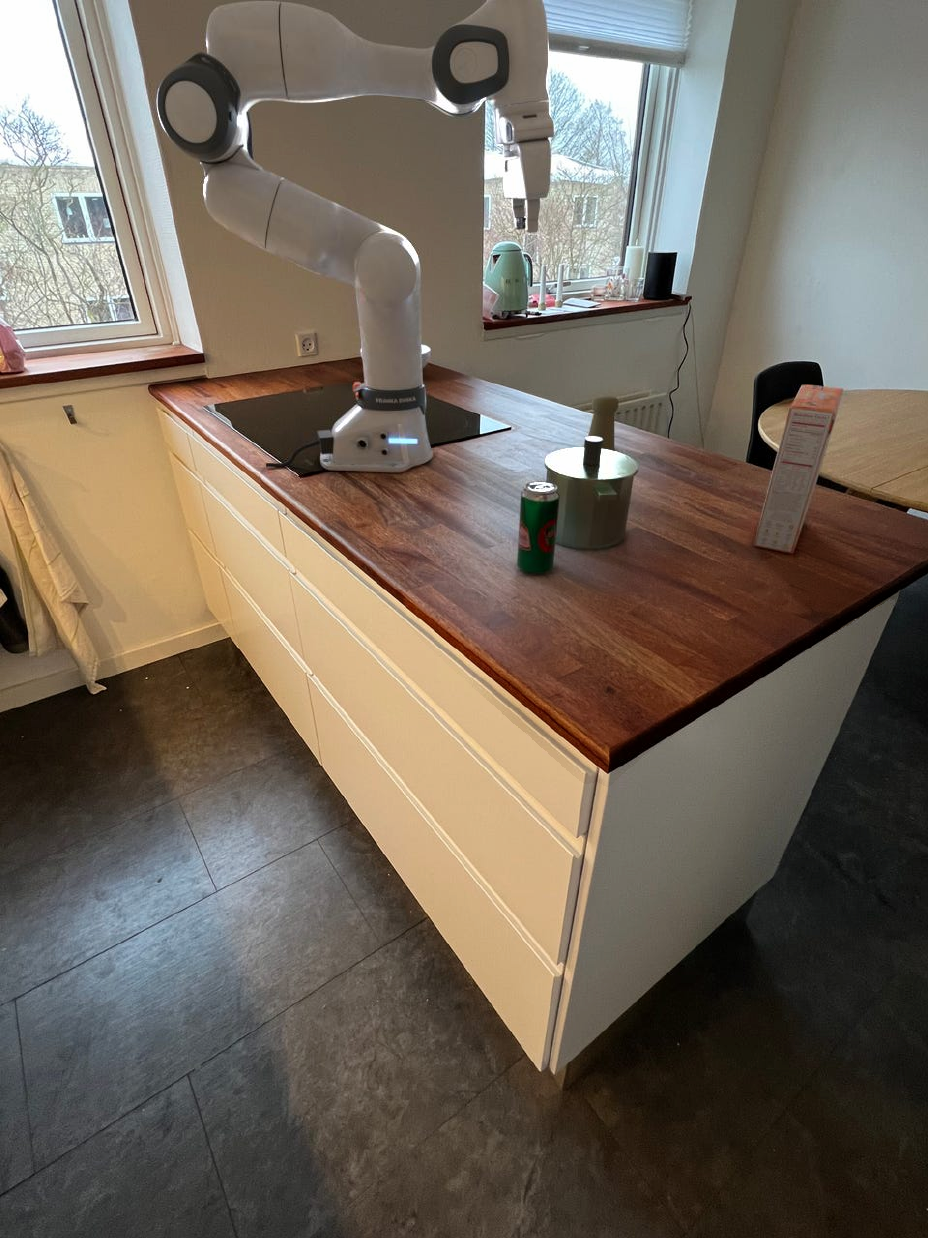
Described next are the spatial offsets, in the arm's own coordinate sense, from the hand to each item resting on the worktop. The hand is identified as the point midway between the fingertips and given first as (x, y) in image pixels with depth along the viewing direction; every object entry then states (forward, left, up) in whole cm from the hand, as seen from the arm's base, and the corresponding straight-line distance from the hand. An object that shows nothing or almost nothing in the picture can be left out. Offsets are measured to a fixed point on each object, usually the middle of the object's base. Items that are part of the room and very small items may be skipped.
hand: (526, 230), depth 108 cm
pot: (+4, -37, -39) cm, 54 cm away
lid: (+4, -37, -29) cm, 47 cm away
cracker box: (+34, -41, -39) cm, 66 cm away
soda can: (-6, -48, -39) cm, 63 cm away
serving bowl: (-22, +77, -39) cm, 89 cm away
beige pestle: (+18, +1, -39) cm, 43 cm away
